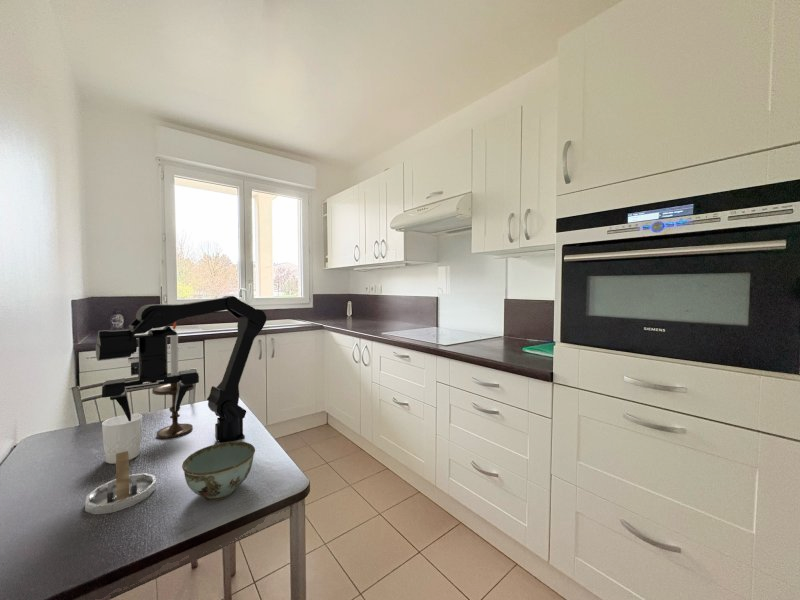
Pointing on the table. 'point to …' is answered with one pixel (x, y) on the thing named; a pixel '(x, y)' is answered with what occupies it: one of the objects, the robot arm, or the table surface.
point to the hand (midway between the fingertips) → (153, 415)
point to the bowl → (218, 469)
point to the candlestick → (173, 397)
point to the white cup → (122, 436)
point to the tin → (106, 500)
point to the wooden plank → (122, 475)
